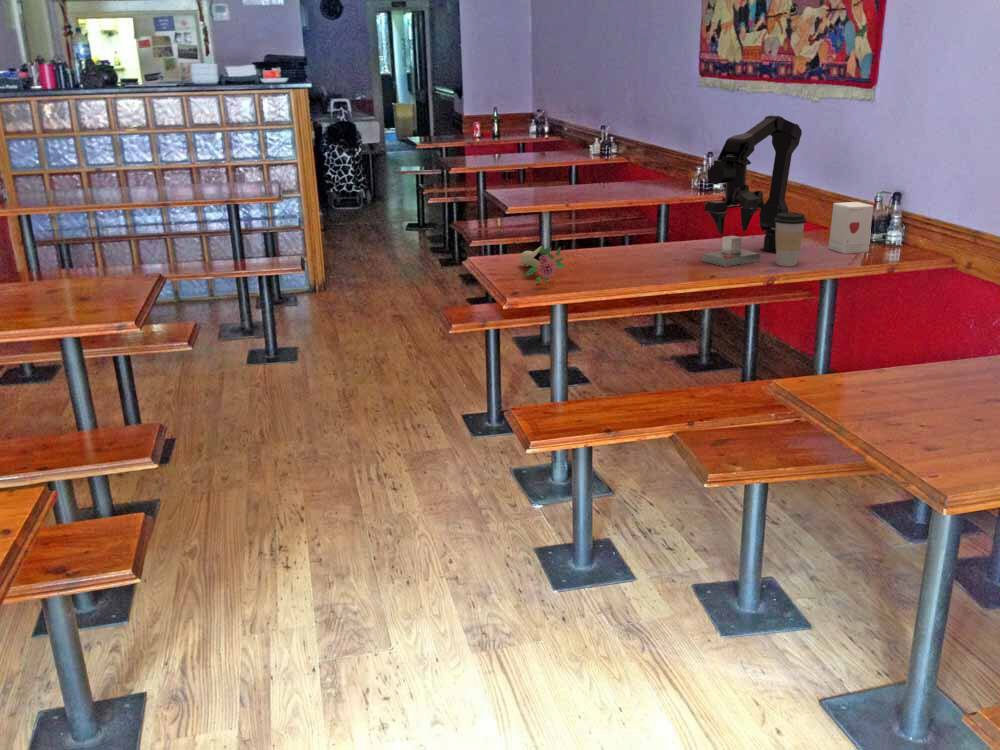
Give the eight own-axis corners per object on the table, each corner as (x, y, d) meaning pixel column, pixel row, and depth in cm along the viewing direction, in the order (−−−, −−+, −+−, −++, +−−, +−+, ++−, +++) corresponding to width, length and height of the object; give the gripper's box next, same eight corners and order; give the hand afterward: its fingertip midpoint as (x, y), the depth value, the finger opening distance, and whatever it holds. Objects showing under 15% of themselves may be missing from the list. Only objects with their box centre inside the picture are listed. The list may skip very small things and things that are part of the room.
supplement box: (843, 254, 294) (848, 206, 289) (827, 249, 302) (832, 202, 297) (869, 252, 295) (874, 205, 291) (852, 247, 304) (857, 201, 299)
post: (731, 259, 289) (732, 235, 287) (740, 261, 286) (742, 237, 283) (720, 260, 287) (722, 236, 285) (730, 263, 284) (731, 239, 281)
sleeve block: (736, 256, 294) (737, 246, 293) (759, 261, 285) (760, 252, 284) (702, 261, 287) (702, 251, 287) (724, 267, 279) (724, 257, 278)
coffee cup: (779, 268, 276) (783, 217, 271) (764, 262, 285) (768, 212, 280) (808, 266, 278) (813, 216, 273) (793, 260, 287) (797, 211, 282)
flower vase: (539, 290, 287) (568, 292, 252) (502, 281, 284) (526, 280, 250) (549, 253, 286) (579, 249, 252) (511, 243, 284) (536, 237, 249)
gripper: (730, 186, 268) (727, 240, 273) (778, 181, 276) (774, 233, 281) (704, 182, 277) (702, 234, 282) (752, 177, 285) (748, 228, 290)
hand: (732, 232), depth 284 cm, fingers open, 9 cm apart
